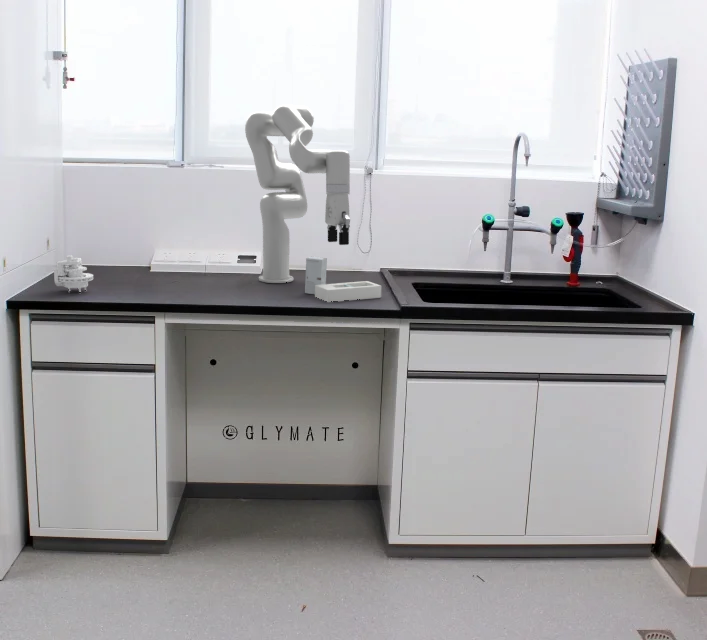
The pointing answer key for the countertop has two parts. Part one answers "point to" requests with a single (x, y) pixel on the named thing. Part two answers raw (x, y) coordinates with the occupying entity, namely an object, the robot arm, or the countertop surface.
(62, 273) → the mechanical part
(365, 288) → the holder
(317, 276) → the skincare box
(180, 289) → the countertop surface
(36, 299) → the countertop surface
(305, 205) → the robot arm
